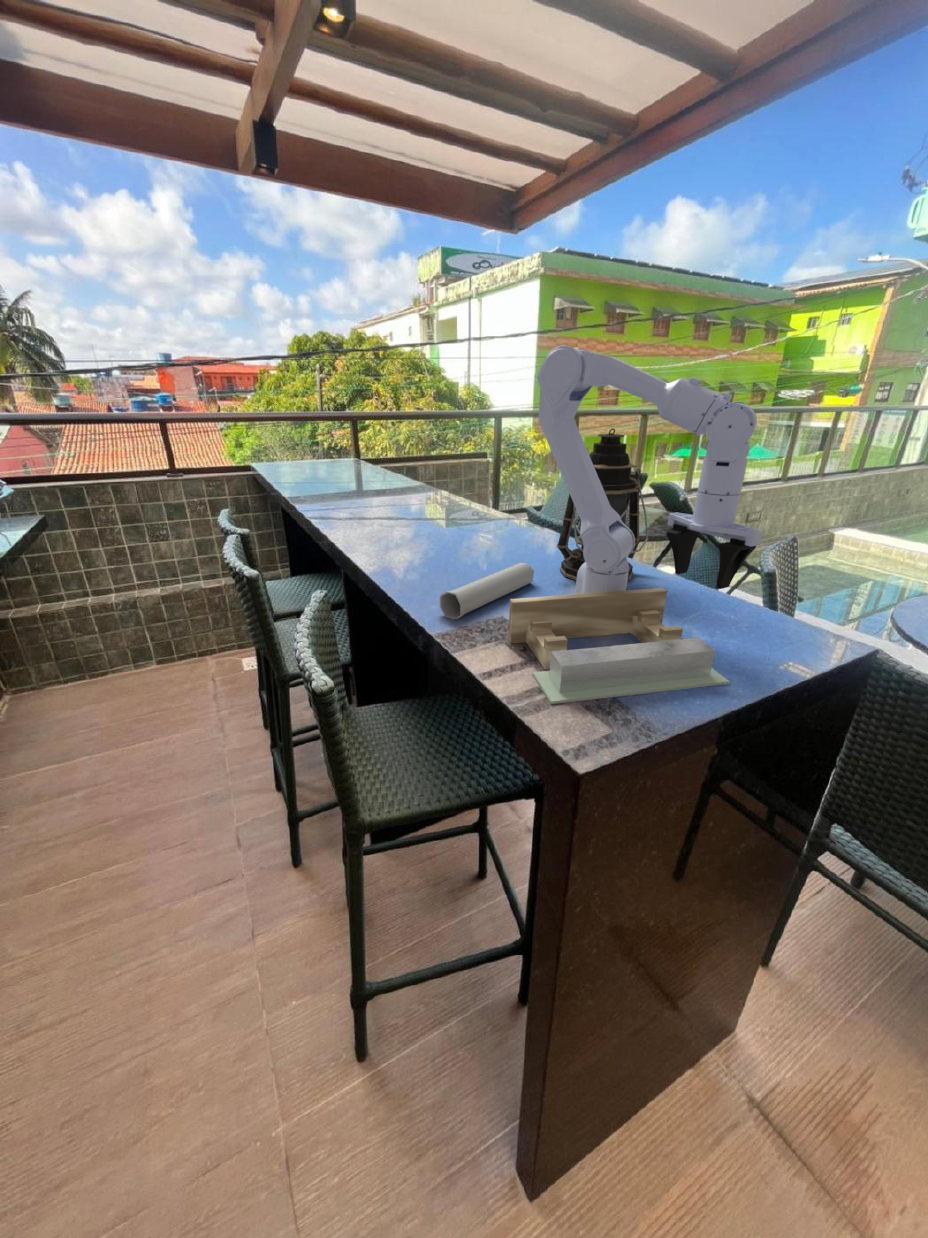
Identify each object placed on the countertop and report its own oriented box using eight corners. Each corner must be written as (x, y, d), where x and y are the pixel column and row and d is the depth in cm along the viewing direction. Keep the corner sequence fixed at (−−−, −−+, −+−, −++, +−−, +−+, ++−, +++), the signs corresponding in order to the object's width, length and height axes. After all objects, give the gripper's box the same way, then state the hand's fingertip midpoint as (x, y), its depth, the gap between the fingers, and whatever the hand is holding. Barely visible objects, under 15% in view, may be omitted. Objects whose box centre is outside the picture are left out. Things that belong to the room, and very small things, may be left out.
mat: (532, 674, 71) (532, 672, 71) (695, 658, 76) (695, 655, 75) (551, 704, 64) (551, 701, 64) (728, 683, 69) (729, 681, 69)
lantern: (613, 558, 121) (630, 425, 109) (657, 579, 108) (681, 429, 96) (538, 567, 116) (547, 427, 103) (574, 590, 102) (588, 432, 90)
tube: (515, 561, 107) (435, 592, 90) (536, 557, 104) (457, 590, 86) (520, 585, 108) (443, 621, 91) (541, 582, 105) (465, 619, 87)
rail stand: (508, 639, 81) (510, 599, 79) (655, 626, 86) (662, 587, 83) (528, 671, 72) (531, 626, 69) (692, 654, 77) (701, 612, 74)
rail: (549, 677, 70) (551, 651, 68) (692, 662, 74) (697, 637, 72) (559, 692, 66) (562, 666, 64) (710, 676, 70) (715, 650, 68)
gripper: (660, 486, 78) (647, 570, 84) (747, 503, 66) (726, 599, 72) (691, 483, 81) (676, 564, 87) (779, 498, 70) (756, 590, 75)
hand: (701, 579), depth 80 cm, fingers open, 7 cm apart
